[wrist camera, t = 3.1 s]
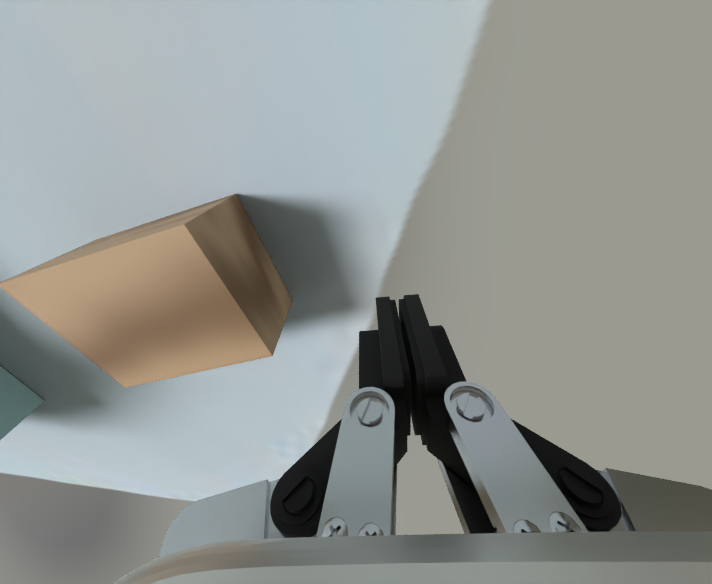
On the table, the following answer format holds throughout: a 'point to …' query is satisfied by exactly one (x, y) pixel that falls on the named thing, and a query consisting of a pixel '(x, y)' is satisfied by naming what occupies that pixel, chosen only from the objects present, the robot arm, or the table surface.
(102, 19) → the table surface
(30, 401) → the board
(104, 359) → the block
